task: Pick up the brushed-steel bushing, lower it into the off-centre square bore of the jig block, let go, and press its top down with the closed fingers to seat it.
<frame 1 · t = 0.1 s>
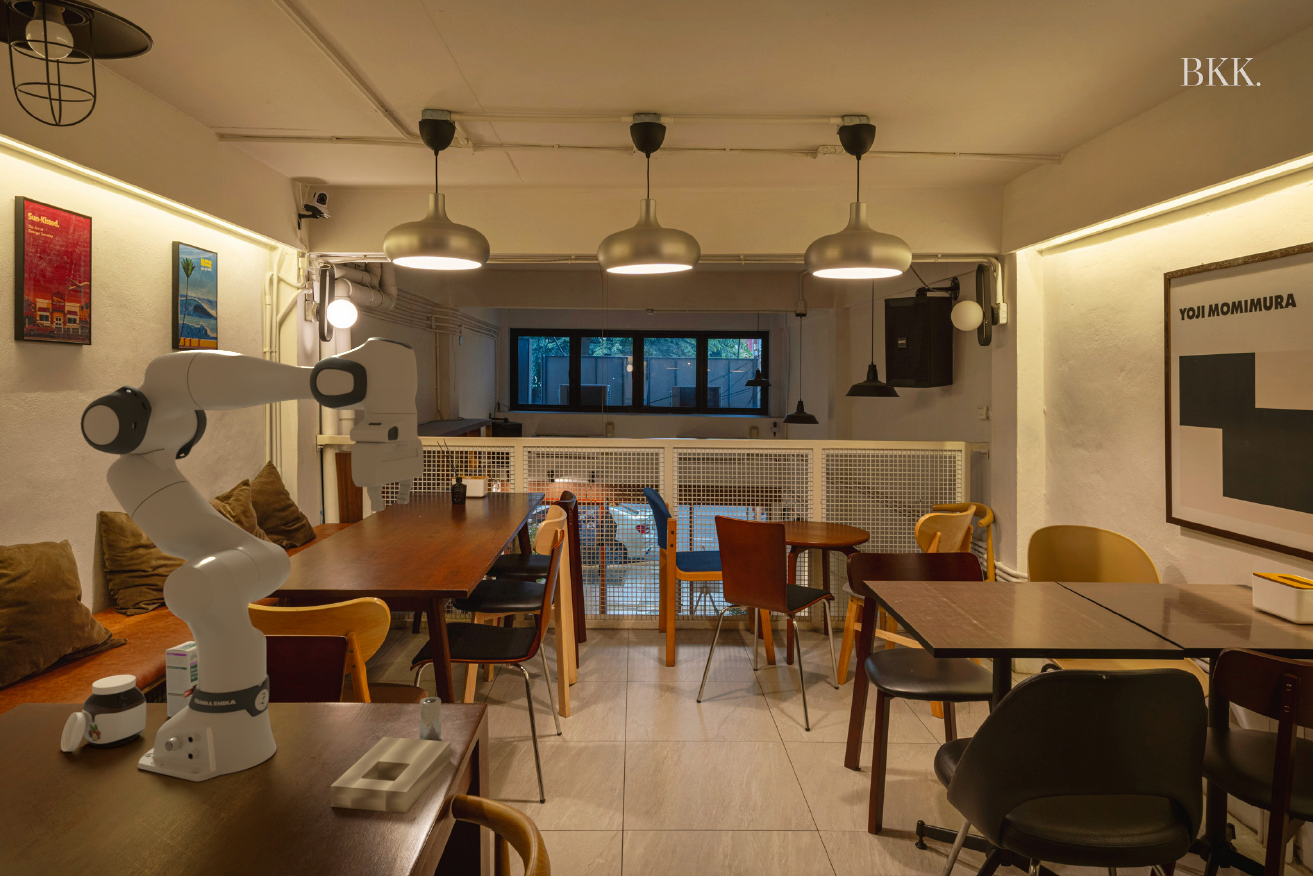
hand: (390, 507, 131), 48 cm above the table, tool pointing down, fingers open, 8 cm apart
syrup box: (189, 714, 155), on the table
jig: (394, 781, 129), on the table
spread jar: (102, 744, 141), on the table
bushing: (430, 740, 145), on the table
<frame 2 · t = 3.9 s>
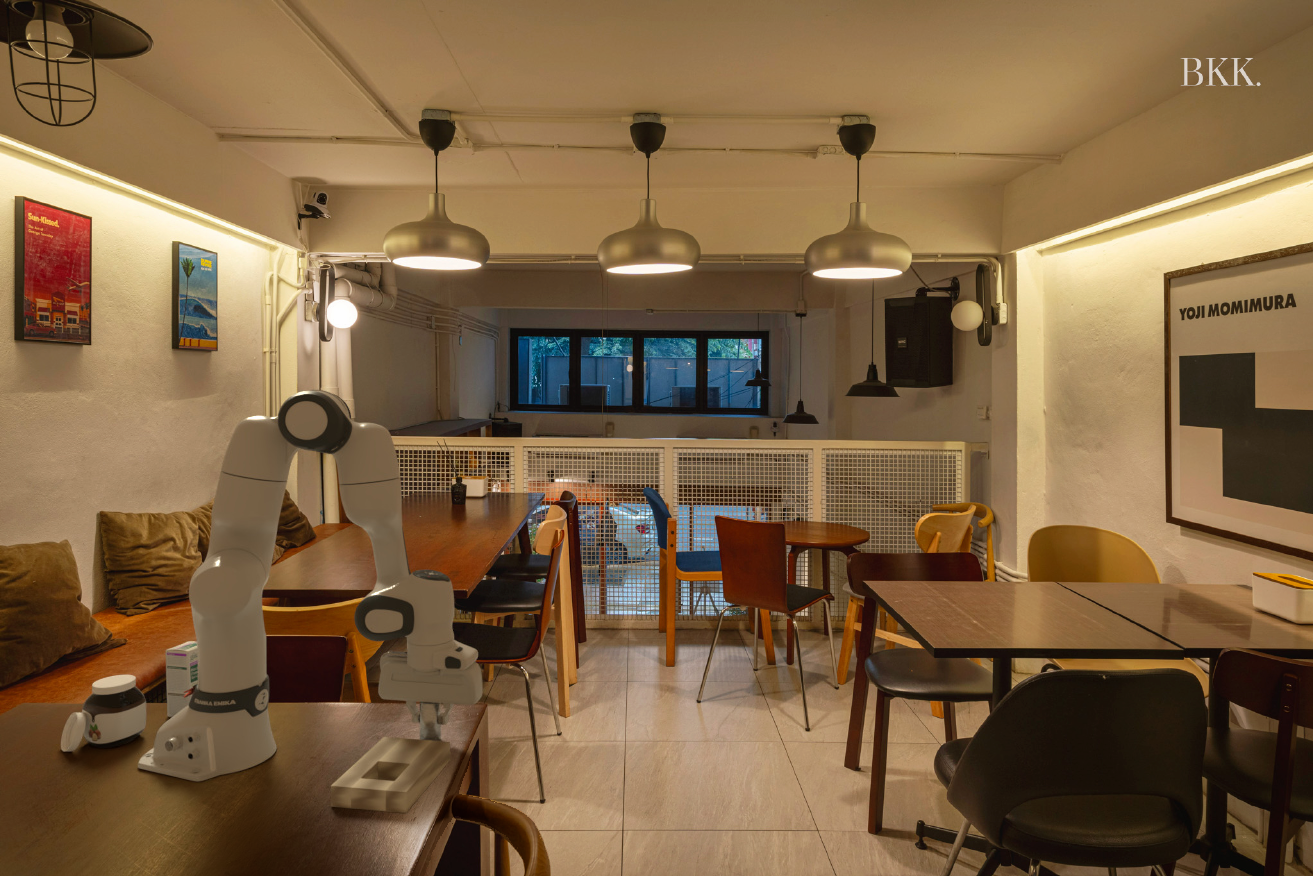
hand: (430, 722, 145), 4 cm above the table, tool pointing down, fingers closed on bushing, 4 cm apart
bushing: (430, 740, 145), on the table, touching gripper
everything else where it was.
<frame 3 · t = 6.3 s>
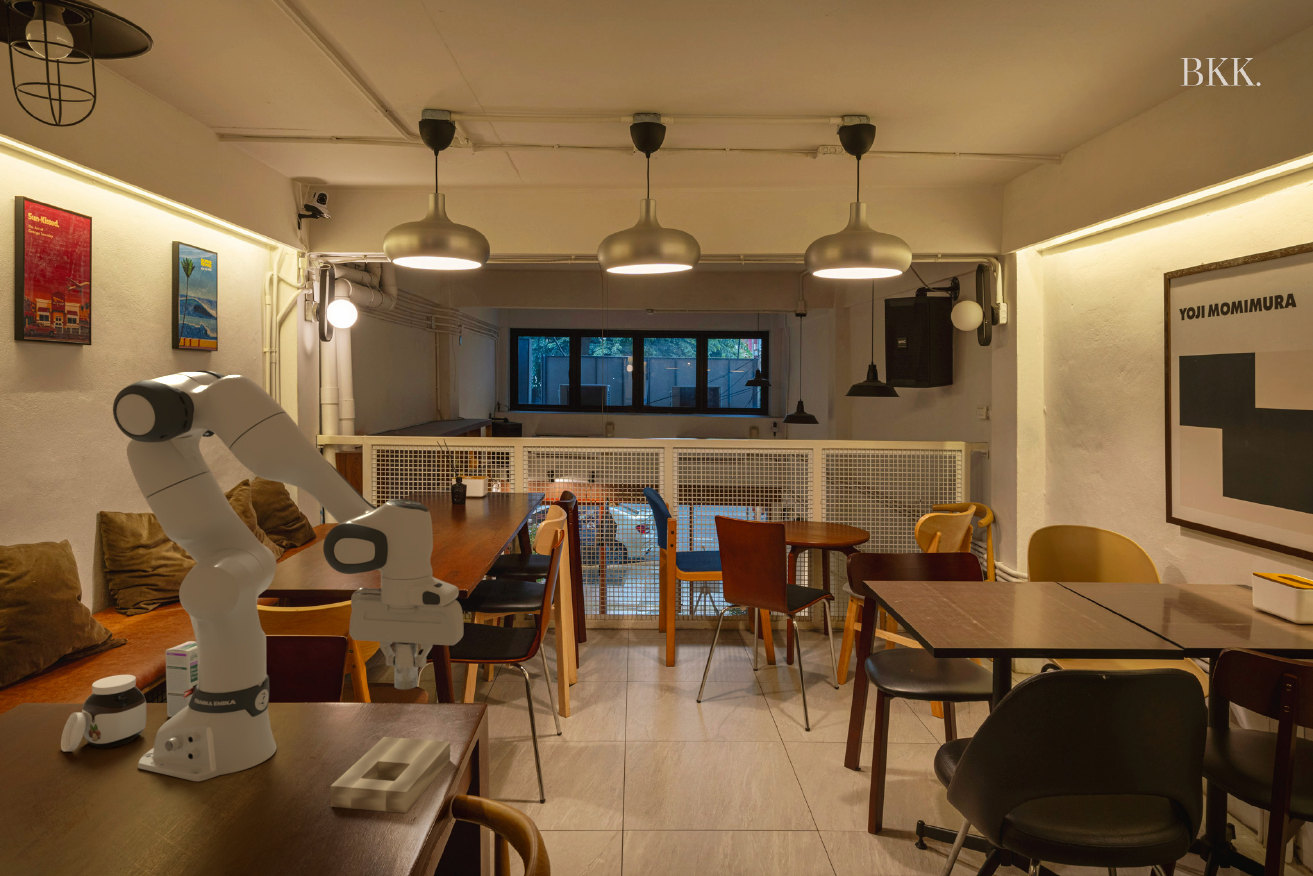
hand: (406, 665, 133), 19 cm above the table, tool pointing down, fingers closed on bushing, 4 cm apart
bushing: (406, 685, 133), point 15 cm above the table, touching gripper
everything else where it was.
when the fingers open (5 cm above the table, at t = 9.1 s): bushing drops 1 cm, resting in jig.
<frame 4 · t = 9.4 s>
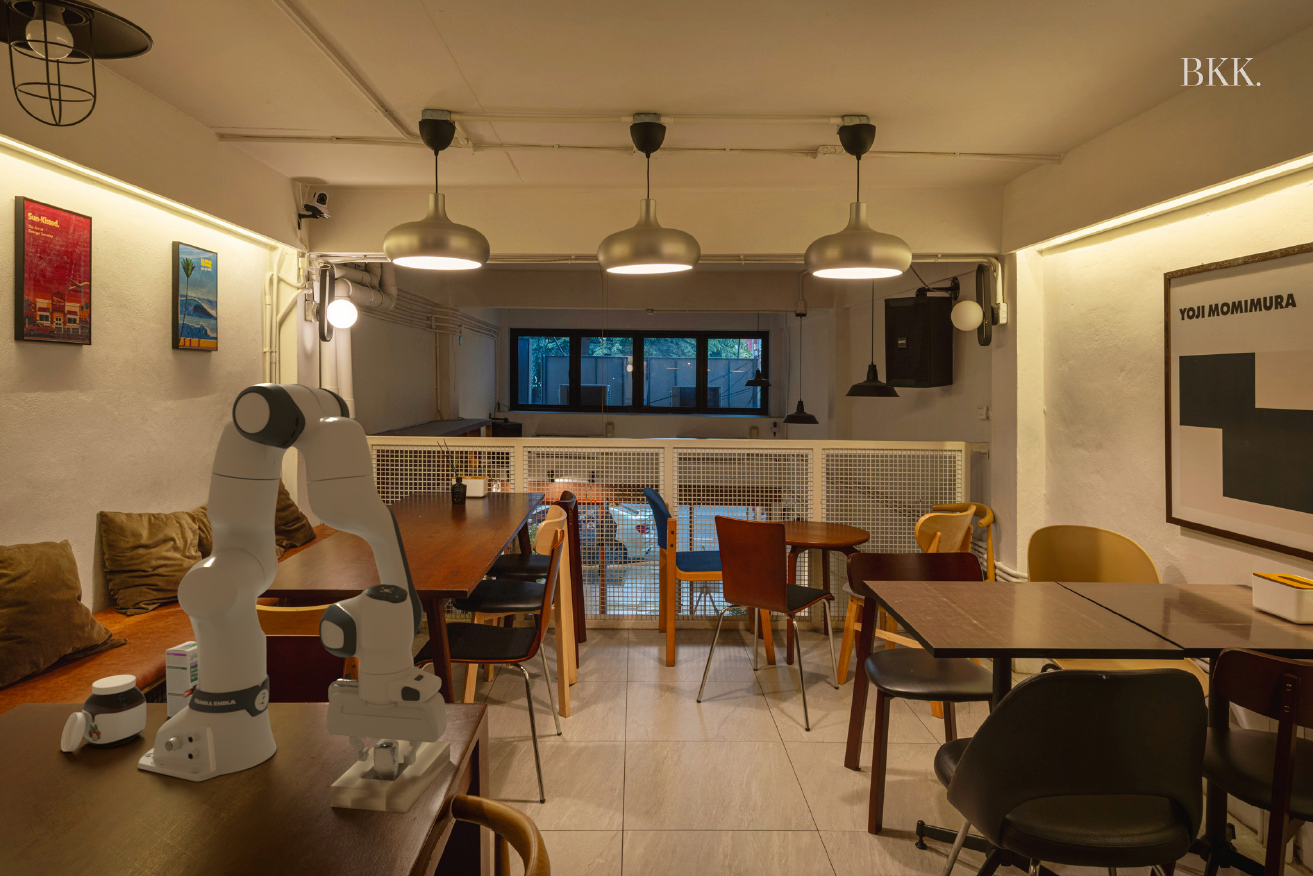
hand: (385, 761, 126), 5 cm above the table, tool pointing down, fingers open, 7 cm apart
bushing: (386, 790, 126), resting in jig
everything else where it was.
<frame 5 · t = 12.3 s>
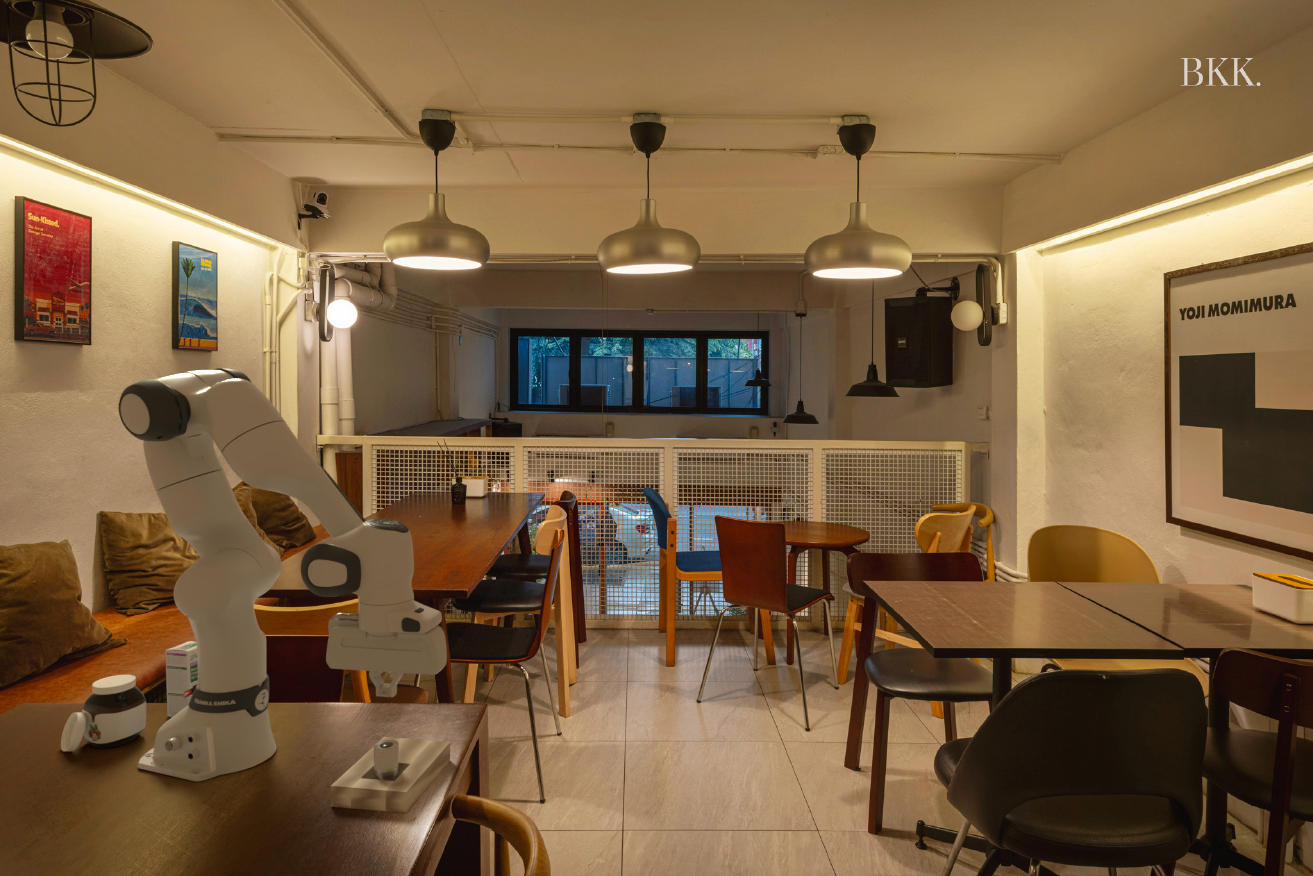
hand: (386, 695, 125), 17 cm above the table, tool pointing down, fingers closed
nothing on the table moved.
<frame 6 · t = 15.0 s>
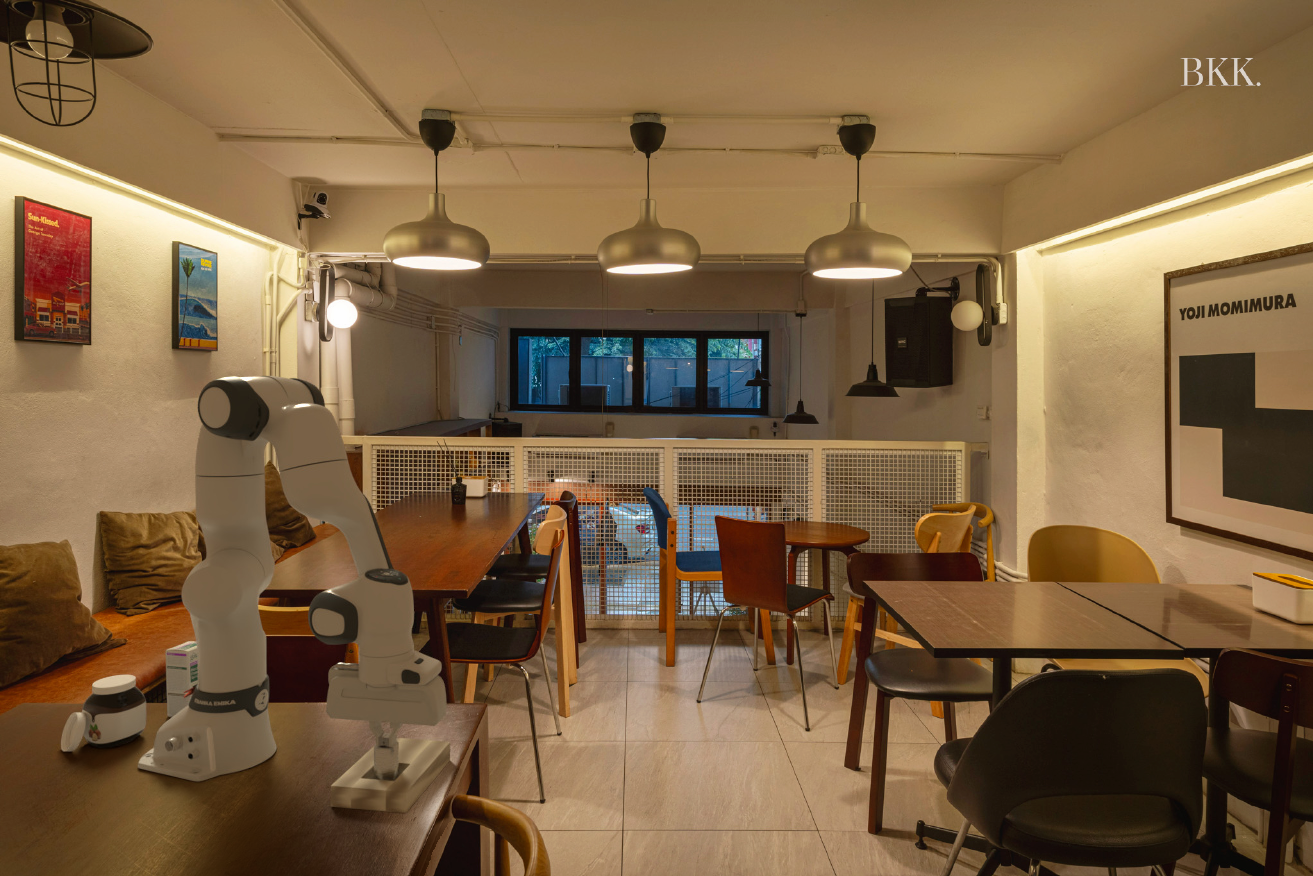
hand: (386, 745, 126), 8 cm above the table, tool pointing down, fingers closed, pressing on bushing
bushing: (386, 790, 126), resting in jig, touching gripper
everything else where it was.
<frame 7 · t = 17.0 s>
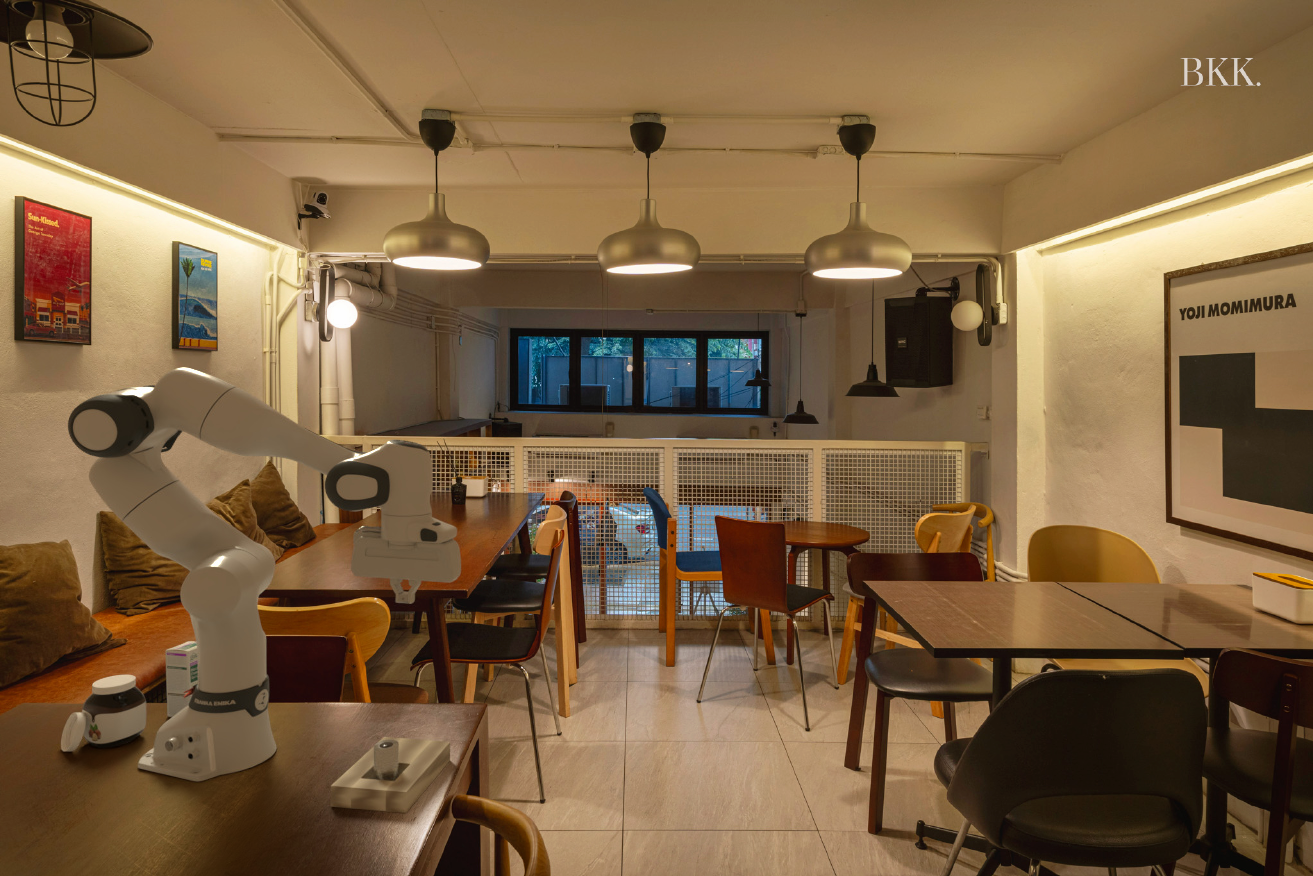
hand: (405, 602, 136), 30 cm above the table, tool pointing down, fingers closed
bushing: (386, 790, 126), resting in jig
everything else where it was.
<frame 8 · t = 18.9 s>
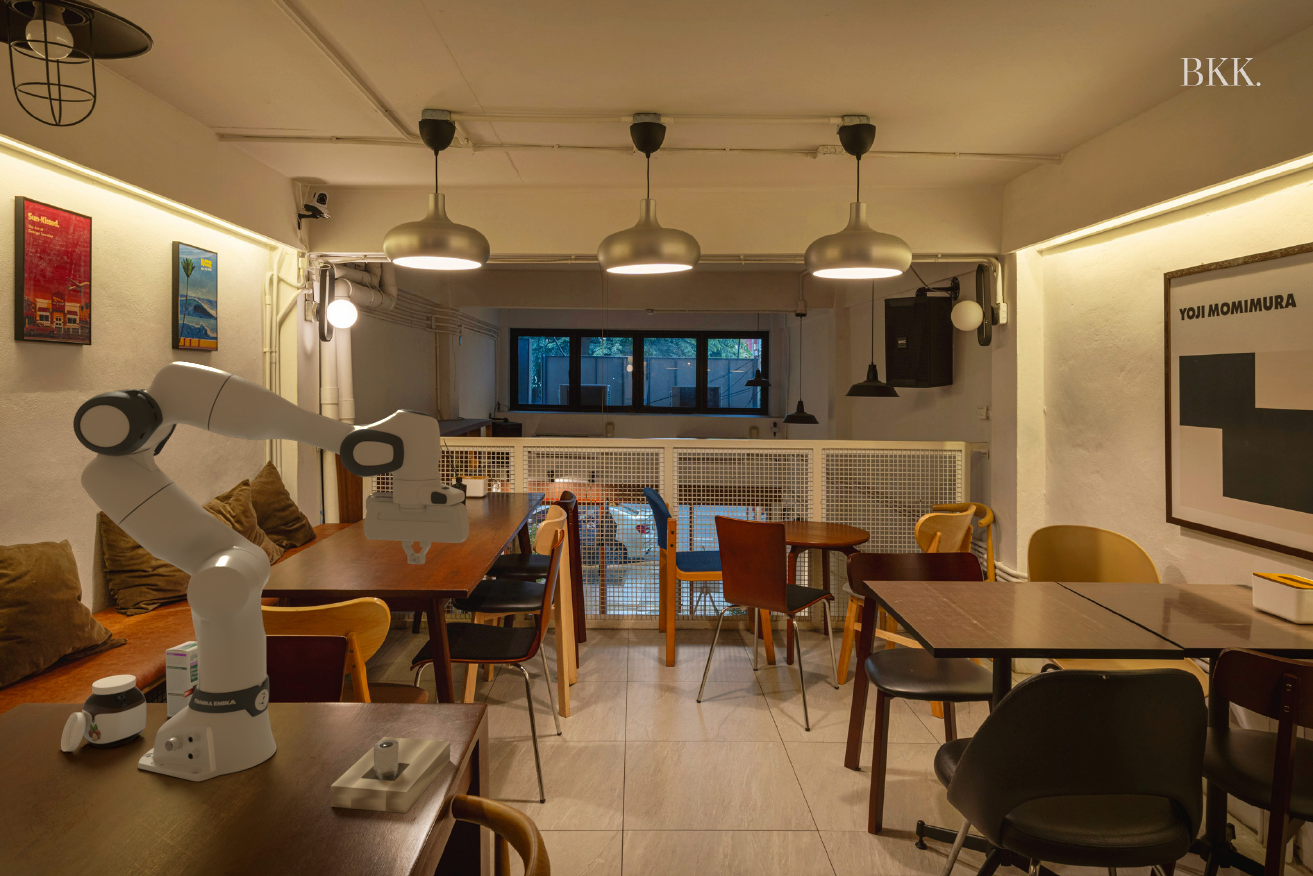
hand: (416, 563, 144), 35 cm above the table, tool pointing down, fingers closed
nothing on the table moved.
at the end: bushing 0.1 cm from the target spot on the jig, point 0.0 cm above the jig's base; bushing tilted 0°; the gripper is holding nothing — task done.
